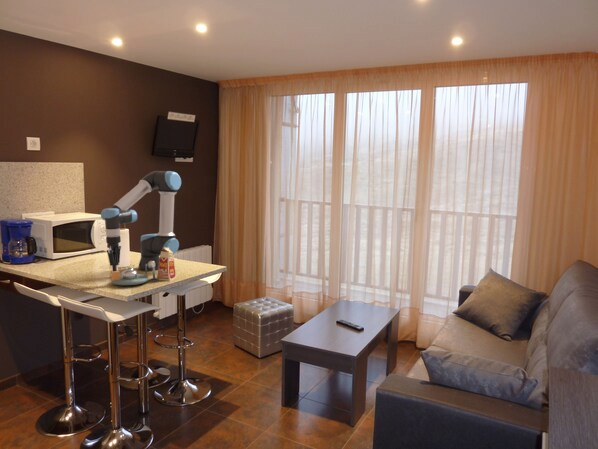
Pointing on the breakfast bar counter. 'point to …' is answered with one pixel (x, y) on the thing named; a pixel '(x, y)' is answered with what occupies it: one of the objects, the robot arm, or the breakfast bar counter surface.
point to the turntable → (119, 280)
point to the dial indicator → (152, 265)
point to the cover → (129, 274)
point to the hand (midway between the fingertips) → (115, 276)
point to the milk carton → (166, 265)
